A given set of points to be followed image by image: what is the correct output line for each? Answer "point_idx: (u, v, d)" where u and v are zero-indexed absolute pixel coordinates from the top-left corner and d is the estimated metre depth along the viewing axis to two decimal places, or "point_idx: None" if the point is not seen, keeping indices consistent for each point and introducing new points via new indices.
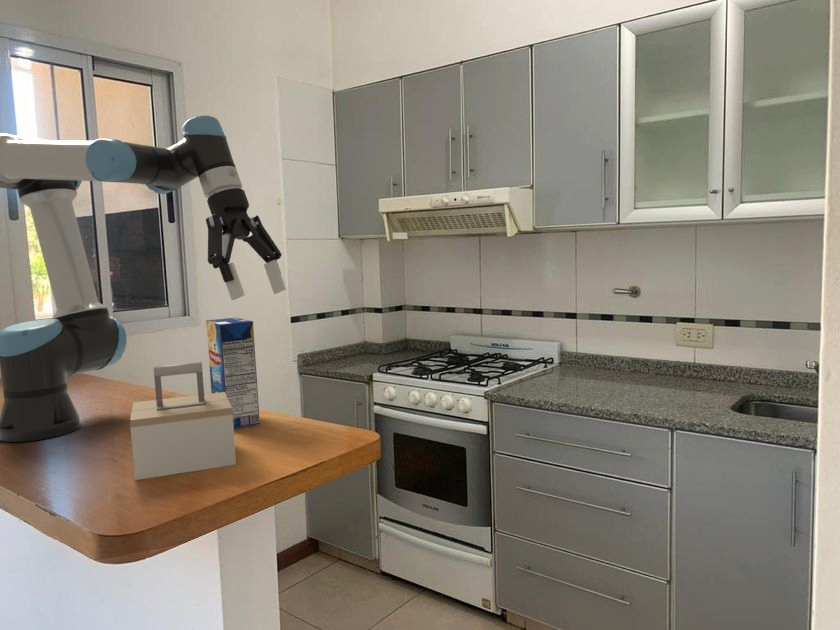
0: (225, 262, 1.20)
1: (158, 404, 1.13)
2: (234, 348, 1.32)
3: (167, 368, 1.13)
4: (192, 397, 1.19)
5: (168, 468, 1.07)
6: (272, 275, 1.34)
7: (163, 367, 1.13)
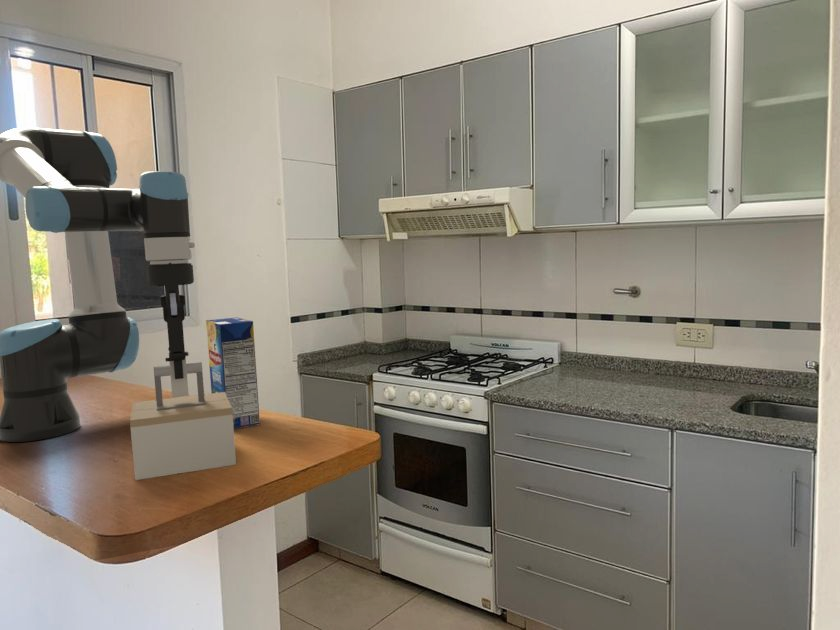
0: (183, 359, 1.12)
1: (158, 404, 1.13)
2: (234, 348, 1.32)
3: (167, 368, 1.13)
4: (192, 397, 1.19)
5: (168, 468, 1.07)
6: None
7: (163, 367, 1.13)
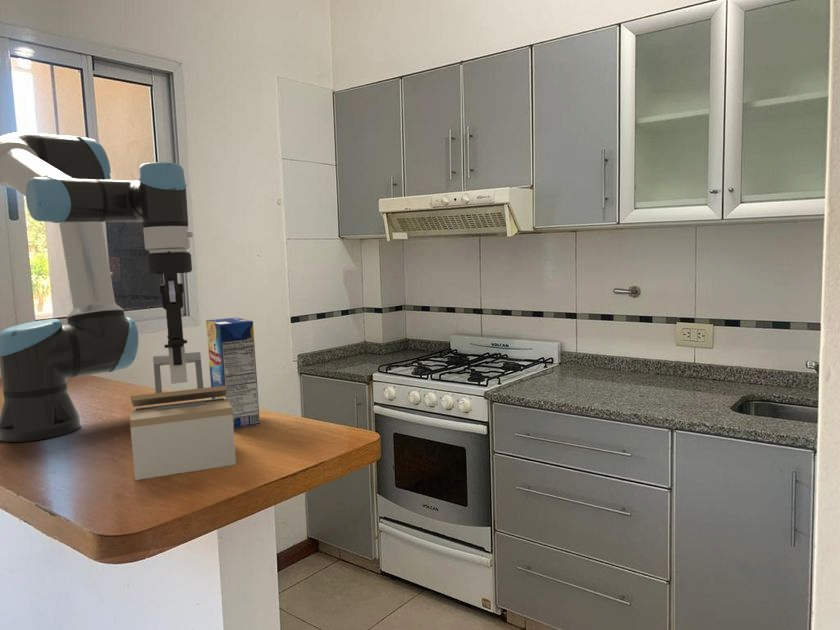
0: (181, 346, 1.15)
1: (157, 392, 1.14)
2: (234, 348, 1.32)
3: (166, 356, 1.16)
4: None
5: (168, 468, 1.07)
6: None
7: (162, 355, 1.16)
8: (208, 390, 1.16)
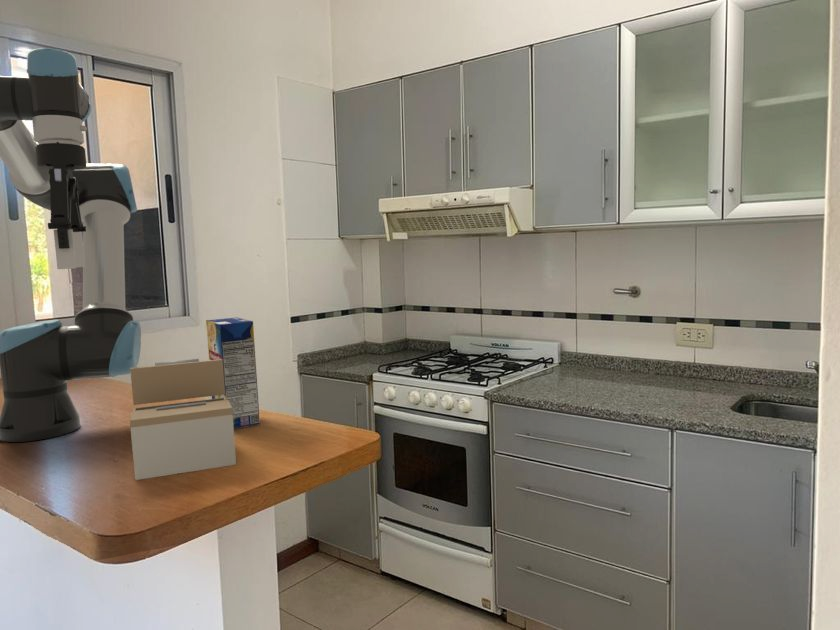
0: (68, 227, 1.06)
1: None
2: (234, 348, 1.32)
3: None
4: None
5: (168, 468, 1.07)
6: (73, 247, 1.19)
7: None
8: (204, 361, 1.21)
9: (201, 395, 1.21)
